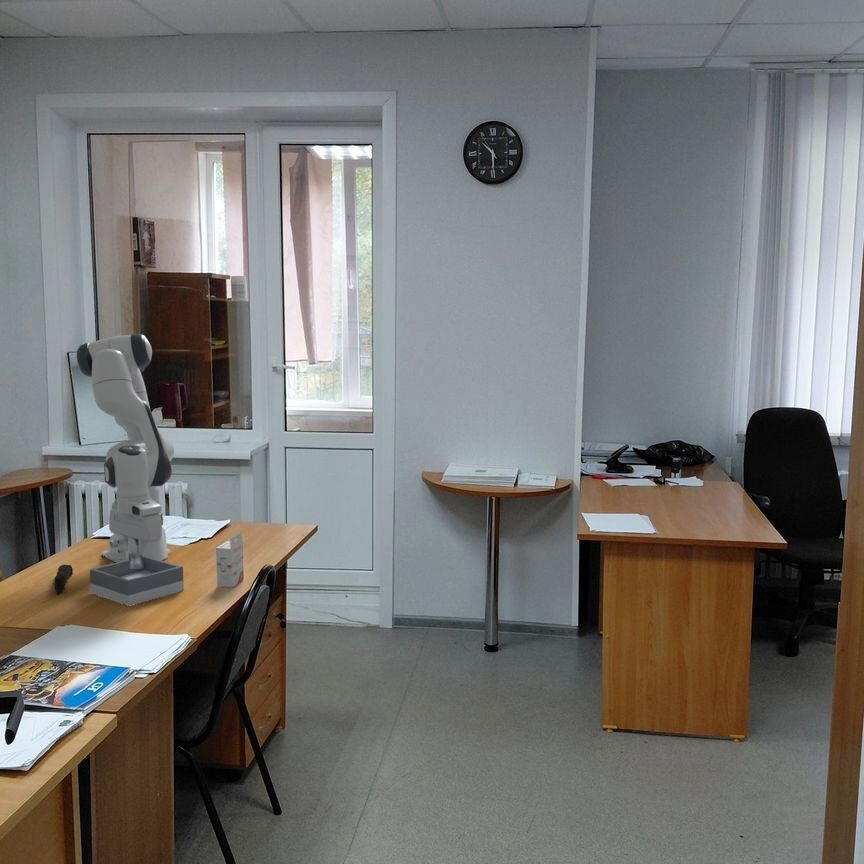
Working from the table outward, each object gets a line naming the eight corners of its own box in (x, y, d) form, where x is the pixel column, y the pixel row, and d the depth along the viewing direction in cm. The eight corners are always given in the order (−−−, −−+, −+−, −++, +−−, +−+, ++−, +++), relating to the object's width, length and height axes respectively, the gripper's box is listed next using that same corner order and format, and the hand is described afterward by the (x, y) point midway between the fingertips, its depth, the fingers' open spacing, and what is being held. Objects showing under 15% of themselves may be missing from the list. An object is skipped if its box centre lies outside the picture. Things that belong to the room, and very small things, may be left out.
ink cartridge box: (228, 578, 269) (227, 530, 267) (244, 579, 268) (243, 531, 266) (216, 586, 261) (214, 537, 259) (232, 588, 260) (231, 538, 258)
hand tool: (58, 577, 269) (58, 562, 269) (73, 576, 270) (72, 561, 270) (47, 597, 251) (46, 581, 251) (62, 596, 252) (61, 580, 252)
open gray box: (90, 593, 254) (89, 569, 253) (145, 578, 268) (144, 555, 267) (128, 606, 243) (127, 581, 242) (183, 590, 257) (183, 566, 256)
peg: (126, 567, 254) (124, 536, 253) (138, 564, 257) (136, 533, 256) (134, 569, 252) (132, 538, 250) (146, 566, 255) (145, 535, 254)
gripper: (102, 501, 256) (104, 549, 258) (145, 511, 243) (147, 561, 245) (121, 497, 261) (124, 544, 263) (165, 507, 248) (167, 556, 250)
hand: (135, 552), depth 254 cm, fingers closed on peg, 4 cm apart
